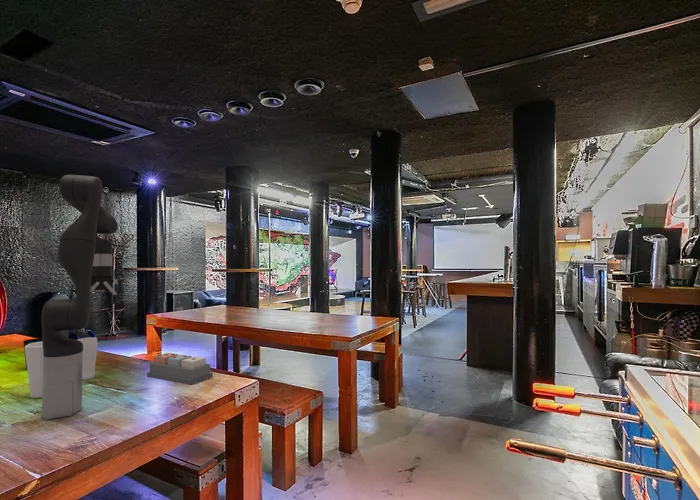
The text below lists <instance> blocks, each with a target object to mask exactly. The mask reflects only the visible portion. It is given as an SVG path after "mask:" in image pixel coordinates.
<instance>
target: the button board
mask: <svg viewBox="0 0 700 500" xmlns="http://www.w3.org/2000/svg"><path fill="white" fill-rule="evenodd" d="M146 377H147V378H153V379H156V380H157V379H158V380H163V381H168V382H175V383H180V384H185V385H190V386H191V385H195V384H197V383H200V382H202V380H203V381H205V380H208V379H211V378H213V372H211V363H206V365H205V366H202V367H199V368H196V369H187V368H181V366H180V367H175V366H169V365H168V364H165V365H163V364H157V363H154V361H153V362H149V371H148V372H146ZM210 377H211V378H210ZM207 378H208V379H207Z"/></svg>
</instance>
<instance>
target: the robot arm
mask: <svg viewBox="0 0 700 500" xmlns="http://www.w3.org/2000/svg"><path fill="white" fill-rule="evenodd" d="M58 185H59V189H58V190H59V193H60V195H61V198H62V199H63V200H64V201H65V202H66V203H67V204H69V205H70V206H71V207H73V208H74V209H75V210H76V211H78V212H80V215H79V216H78V217H77V218H76V219H75V220H74V221H73V222H72V223H71V224H69V225H68V227H66V229H65V230H64V231H63V232H62V234H61V236H60V238H59V243H58V249H57V250H58V251H57V259H58V262H59V263H60V265H61V267H62V268H63V269H64V271H65V272H66V274H67V275H68V276H69V279H70V280H71V281H72V283H73V285H74V289H75V298H66V299H65V298H63V299H51V300H48V301H46V302H45V303H44V305H43V306H42V311H41V329H42V330H41V332H42V333H41V334H42V337H41V338H43V387H42V398H41V400H42V401H41V417H42V418H44V420H45V421H46V420H52V419H58V418H64V417H70V416H71V417H72V416H73V415H75V414H76V413H77V412H80V411H81V410H82V409H83V380H82V376H83V343H82V342H81V341H78V340H77V339H72V338H70V337H67V336H65V335H64V334H62V331H75V330H76V331H77V330H78V331H79V330H83V329H86V328H87V326H88V325H89V322H90V316H91V300H92V299H91V298H92V297H91V295H92V294H91V293H92V292H94V291H100V290H101V291H107V290H109V292H110V293H111V305H115V304H116V303H117V296H118V295H119V294H122V293H123V290H122V289H123V288H122V279H121V278H116V279H114V278H113V242H112V240H110V239H104V238H100V237H99V235H101V234H102V235H112V234H114V233H116V232H117V230H118V228H119V227H118V225H119V224H118V222H117V219H116V218H115V217H114V216H113V215H111V214H110V213H108V212H107V211H106V209H105V207H104V206H102V205H101V204H102V199H103V198H102V197H103V192H104V191H103V190H104V189H103V187H104V186H103V181H102V180H101V179H100V177H97V176H91V175H80V174H65V175H63V176H62V177H61V178H60V180H59V184H58ZM98 234H99V235H98ZM113 283H114V284H115V285H117V286H116V287H117V290H115V289H113V287H112V286H111V285H112V284H113Z"/></svg>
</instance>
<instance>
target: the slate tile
mask: <svg viewBox="0 0 700 500" xmlns="http://www.w3.org/2000/svg"><path fill="white" fill-rule="evenodd" d="M191 357H193V356H192V355H187V354H178V355H177V356H174V357H170V358H168V365H169V366H175V367H180V366H182V360H184V359H188V358H191Z"/></svg>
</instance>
